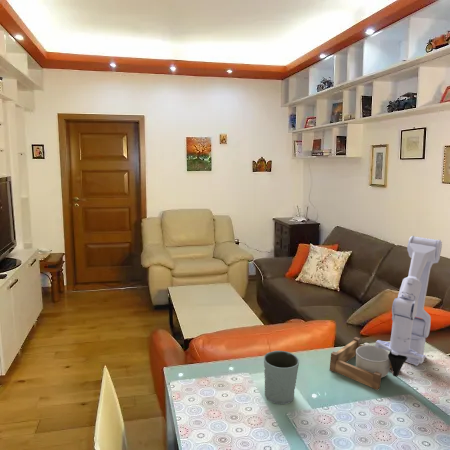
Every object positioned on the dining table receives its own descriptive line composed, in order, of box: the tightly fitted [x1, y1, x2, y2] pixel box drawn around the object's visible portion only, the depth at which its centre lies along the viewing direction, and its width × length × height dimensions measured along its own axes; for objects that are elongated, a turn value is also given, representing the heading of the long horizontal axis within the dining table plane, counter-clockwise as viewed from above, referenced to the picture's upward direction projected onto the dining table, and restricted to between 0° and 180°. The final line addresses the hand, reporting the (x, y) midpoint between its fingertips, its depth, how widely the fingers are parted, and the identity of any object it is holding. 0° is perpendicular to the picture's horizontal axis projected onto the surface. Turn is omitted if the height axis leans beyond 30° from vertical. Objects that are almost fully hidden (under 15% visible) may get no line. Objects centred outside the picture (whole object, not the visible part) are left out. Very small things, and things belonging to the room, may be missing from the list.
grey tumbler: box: [263, 350, 300, 405], centre depth 126 cm, size 10×10×12 cm
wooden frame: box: [329, 336, 392, 391], centre depth 143 cm, size 18×16×6 cm
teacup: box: [355, 342, 391, 379], centre depth 142 cm, size 14×11×8 cm
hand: (395, 375), depth 136 cm, fingers closed
